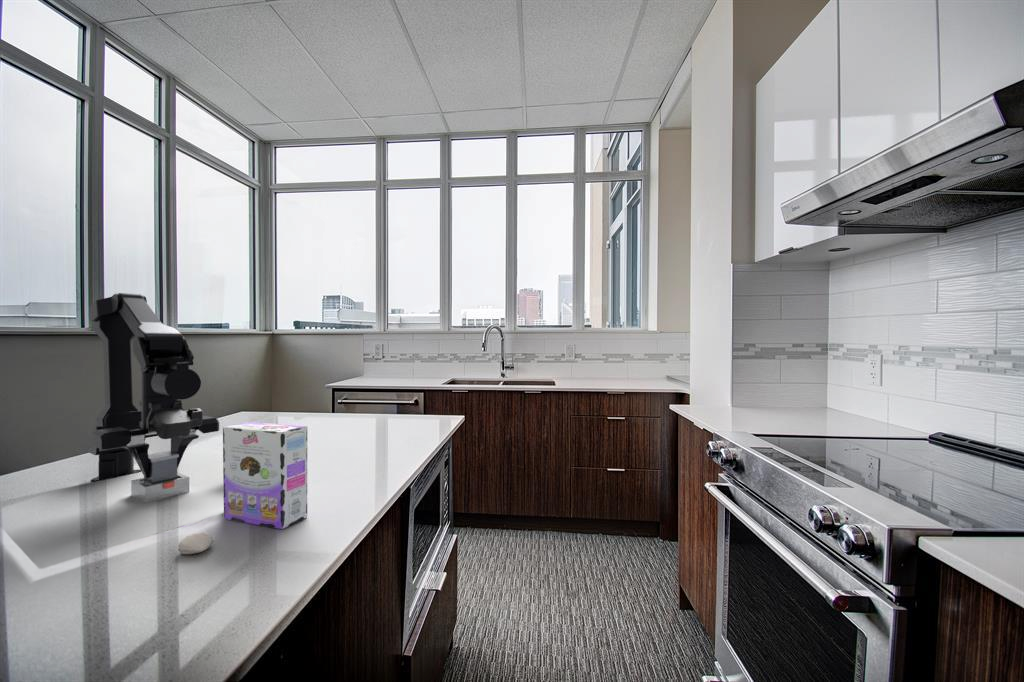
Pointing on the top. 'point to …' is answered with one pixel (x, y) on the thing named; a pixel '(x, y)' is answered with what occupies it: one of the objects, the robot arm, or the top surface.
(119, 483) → the top surface
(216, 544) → the top surface
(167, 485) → the stand base
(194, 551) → the white rounded lump
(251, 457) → the candy box
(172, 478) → the column
